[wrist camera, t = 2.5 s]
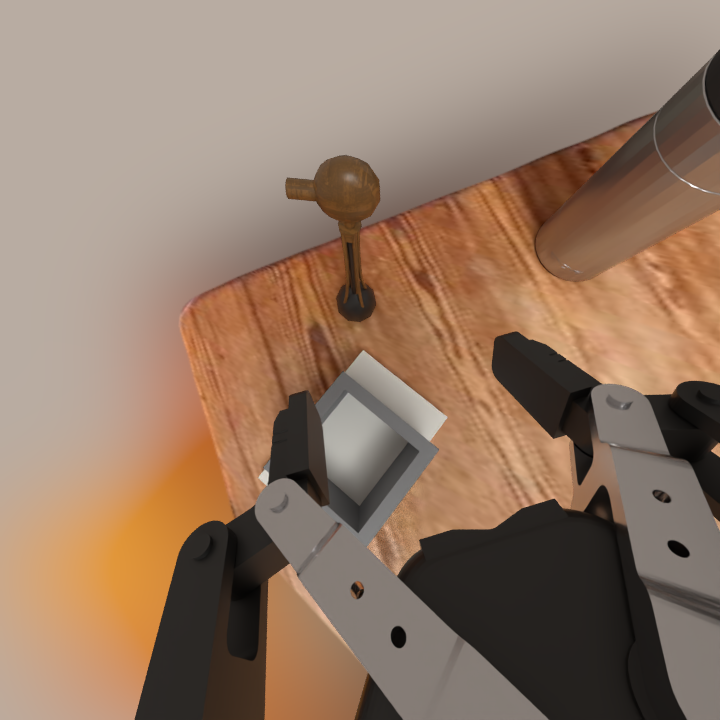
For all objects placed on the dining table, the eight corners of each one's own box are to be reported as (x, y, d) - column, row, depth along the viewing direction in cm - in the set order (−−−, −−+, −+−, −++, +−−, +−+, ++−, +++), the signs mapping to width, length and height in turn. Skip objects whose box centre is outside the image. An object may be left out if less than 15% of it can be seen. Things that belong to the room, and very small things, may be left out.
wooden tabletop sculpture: (326, 318, 33) (270, 196, 13) (331, 282, 34) (284, 117, 14) (373, 323, 33) (387, 206, 13) (377, 287, 34) (396, 126, 14)
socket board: (363, 352, 33) (362, 337, 25) (443, 416, 31) (468, 421, 24) (263, 473, 31) (230, 497, 23) (344, 547, 29) (337, 597, 22)
